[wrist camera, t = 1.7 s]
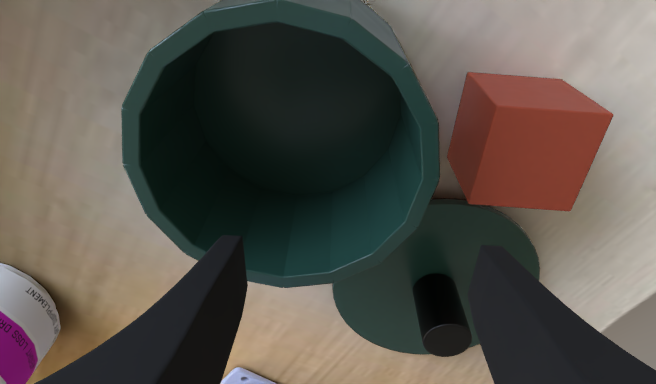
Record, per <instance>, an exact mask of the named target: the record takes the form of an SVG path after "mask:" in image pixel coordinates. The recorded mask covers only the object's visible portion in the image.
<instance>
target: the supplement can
mask: <svg viewBox="0 0 656 384" xmlns="http://www.w3.org/2000/svg"><path fill="white" fill-rule="evenodd" d="M60 329H61V326H60V320H59V315H58V312H57V310H56V306H55V303H54V301H53V300H52V298H51V297H50V295H49V294H48V292H47V291H46V289H44V288H43V287H42V286H41V285H40V284H39V283H37V282H36V281H35V280H34V279H33V278H32V277H30V276H29V275H27V274H25V273H23V272H21V271H19V270H17V269H15V268H13V267H11V266H9V265H6V264H2V263H0V384H25V383H26V382H27V381H28V379H29V378H30V376H31V375H32V373H33V372H34V371H35V369H36V368H37V366H38V365H39V363H40V362H41V361H42V359H43V358H44V356H45V355H46V353H47V352H48V351H49V349H50V348H51V346H52V345H53V343H54V342H55V341H56V338H57V336H58V334H59V331H60Z"/></svg>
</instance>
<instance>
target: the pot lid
mask: <svg viewBox="0 0 656 384" xmlns="http://www.w3.org/2000/svg"><path fill="white" fill-rule="evenodd" d="M481 245H489V246H502V247H503V248H504V249H505V250H506V251H508V252H509V253H510V254H511V255H512V256H513V257H514V258H515V259H516V260H517V261H518V262H519V263H520V264H521V265H522V266H523V267H524V268H525V269H526V270H528V271H529V272H530V273H531V274H532V275H533V276H534V277H535V278H536V279H537V280H538V281H539V271H540V267H539V260H538V256H537V253H536V250H535V248H534V246H533V244H532V243H531V241H530V239H529V237H528V236H527V234H526V233H525V232H524V231H523V230H522V228H521V227H520V226H519V225H518V224H517V223H516V222H514V221H513V220H512V219H511V218H509V217H508V216H506V215H505V214H503V213H501V212H500V211H497V210H495V209H493V208H491V207H488V206H486V205H476V204H469V203H468V202H467V201H465V200H458V199H433V200H430V203H429V205H428V207H427V209H426V212H425V214H424V216H423V219H422V221H421V223H420V225H419V227H418V228H417V230H416V231H415V232H414V233H412V234H411V235H410V236H409V237H408V238H407V239H406V240H405V241H404V242H403V243H402V244H401V245H400V246H399V247H398V248H397V249H396V250H395V251H393V252H392V253H391V254H390V255H389V256H388V257H387V258H386V259H385V260H384V261H383V262H381V263H380V264H378V265H376V266H374V267H371V268H369V269H367V270H364V271H362V272H360V273H357V274H355V275H353V276H350V277H348V278H346V279H344V280H341V281H339V282H337V283H335V282H334V283H333V296H334V300H335V304H336V307H337V309H338V311H339V313H340V315H341V316H342V318H343V319H344V320H345V322H346V323H347V324H348V325H349V326H350V327H351V328H352V329H353V330H354V331H355V332H356V333H358V334H359V335H360V336H361V337H363V338H365V339H366V340H368V341H370V342H372V343H374V344H376V345H378V346H381V347H384V348H387V349H390V350H394V351H398V352H403V353H410V354H433V355H436V356H441V357H449V356H454V355H458V354H460V353H462V352H464V351H465V350H466V349H467V348H470V347H473V346H475V345H478V344H480V342H479V339H478V336H477V333H476V330H475V327H474V324H473V319H472V315H471V310H470V305H469V300H468V295H467V294H468V291H469V287H470V283H471V280H472V276H473V272H474V269H475V265H476V262H477V258H478V254H479V251H480V247H481Z"/></svg>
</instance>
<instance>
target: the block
mask: <svg viewBox="0 0 656 384" xmlns="http://www.w3.org/2000/svg"><path fill="white" fill-rule="evenodd" d="M612 117H613V114H612V113H611V112H609V111H608V110H606V109H605V108H603V107H602V106H600V105H599V104H597V103H596V102H594V101H593V100H591V99H590V98H588V97H587V96H586V95H584V94H583V93H581V92H580V91H578V90H577V89H575V88H574V87H572V86H571V85H569V84H568V83H566V82H565V81H563V80H562V79H550V78H537V77H524V76H511V75H498V74H486V73H473V72H468V73H467V76H466V80H465V84H464V89H463V93H462V97H461V101H460V105H459V109H458V113H457V117H456V122H455V126H454V130H453V134H452V138H451V142H450V146H449V151H448V155H447V158H448V161H449V163H450V165H451V167H452V169H453V171H454V174H455V176H456V178H457V180H458V182H459V184H460V186H461V189H462V191H463V193H464V195H465V197H466V199H467V202H468V203H469V204H476V205H489V206H503V207H517V208H530V209H544V210H557V211H571V209H572V207H573V205H574V202H575V200H576V198H577V196H578V194H579V191H580V189H581V187H582V185H583V182H584V180H585V178H586V176H587V173H588V171H589V169H590V167H591V164H592V162H593V160H594V158H595V155H596V153H597V151H598V149H599V146H600V144H601V142H602V140H603V138H604V135H605V133H606V131H607V129H608V126H609V124H610V122H611V120H612Z"/></svg>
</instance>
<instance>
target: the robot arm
mask: <svg viewBox="0 0 656 384" xmlns="http://www.w3.org/2000/svg"><path fill="white" fill-rule="evenodd" d="M247 286H248V285H247V275H246V265H245V255H244V245H243V236H233V235H222V236H221V237H220V238H219V239H218V240H217V241H216V242H215V243H214V244H213V246H212V247H211V248H210V249H209V250H208V251H207V252H206V253H205V255H204V256H203V257H202V258H201V259H200V260H199V261H198V262H197V263H196V264H195V265H194V266H193V267H192V269H191V270H190V271H189V272H188V273H187V274H186V275H185V276H184V277H183V278H182V279H181V280H180V281H179V282H178V283H177V284H176V285H175V286H174V287H173V288H171V289H170V290H169V291H168V292H167V293H166V294H165V295H164V296H163V297H162V298H161V299H160V300H159V301H157V302H156V303H155V304H154V305H153V306H152V307H151V308H149V309H148V310H147V311H146V312H145V313H143V314H142V315H141V316H140V317H138V318H137V319H136V320H135V321H133V322H132V323H131V324H130V325H128V326H127V327H126V328H124V329H123V330H121V331H120V332H118V333H117V334H116V335H114V336H113V337H111V338H110V339H108V340H107V341H105V342H104V343H102V344H101V345H100V346H98V347H97V348H95V349H94V350H92V351H91V352H89V353H87V354H86V355H84V356H82V357H81V358H79V359H78V360H76V361H74V362H73V363H71V364H69V365H67V366H66V367H64V368H62V369H60V370H59V371H57V372H55V373H53V374H52V375H50V376H48V377H46V378H44V379H42V380H40V381H38V382H36V383H34V384H277V383H275V382H272V381H270V380H268V379H266V378H263V377H261V376H259V375H257V374H255V373H252V372H250V371H248V370H246V369H244V368H241V367H237V368H234V369H233V370H232V371H231V372H230V373H229V374H228V375H227V376H226V377H225V378H224V379H223V380H222V377H223V374H224V371H225V368H226V365H227V361H228V358H229V355H230V352H231V349H232V346H233V343H234V340H235V336H236V333H237V330H238V327H239V324H240V320H241V317H242V313H243V308H244V303H245V297H246V292H247ZM467 295H468V300H469V305H470V310H471V315H472V319H473V324H474V327H475V330H476V333H477V336H478V339H479V342H480V345H481V347H482V350H483V353H484V356H485V359H486V361H487V364H488V367H489V370H490V373H491V375H492V378H493V381H494V384H656V370H654V369H653V368H651V367H649V366H648V365H646V364H645V363H643V362H641V361H640V360H638V359H637V358H635V357H634V356H632V355H631V354H629V353H628V352H626V351H625V350H623V349H622V348H620V347H619V346H618V345H616V344H615V343H614V342H612V341H611V340H609V339H608V338H607V337H605V336H604V335H602V334H601V333H600V332H598V331H597V330H596V329H594V328H593V327H592V326H590V325H589V324H588V323H587V322H585V321H584V320H583V319H582V318H580V317H579V316H578V315H577V314H576V313H574V312H573V311H572V310H571V309H570V308H568V307H567V306H566V305H565V304H564V303H563V302H561V301H560V300H559V299H558V298H557V297H556V296H555V295H553V294H552V293H551V292H550V291H549V290H548V289H547V288H546V287H545V286H543V285H542V284H541V283H540V282H539V281H538V280H537V279H536V278H535V277H534V276H533V275H532V274H531V273H530V272H529V271H528V270H526V269H525V268H524V267H523V266H522V265H521V264H520V263H519V262H518V261H517V260H516V259H515V258H514V257H513V256H512V255H511V254H510V253H509V252H508V251H506V250H505V249H504V248H503V247H502V246H489V245H481V247H480V251H479V254H478V258H477V262H476V265H475V269H474V272H473V276H472V280H471V283H470V287H469V291H468V294H467ZM221 380H222V381H221Z"/></svg>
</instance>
